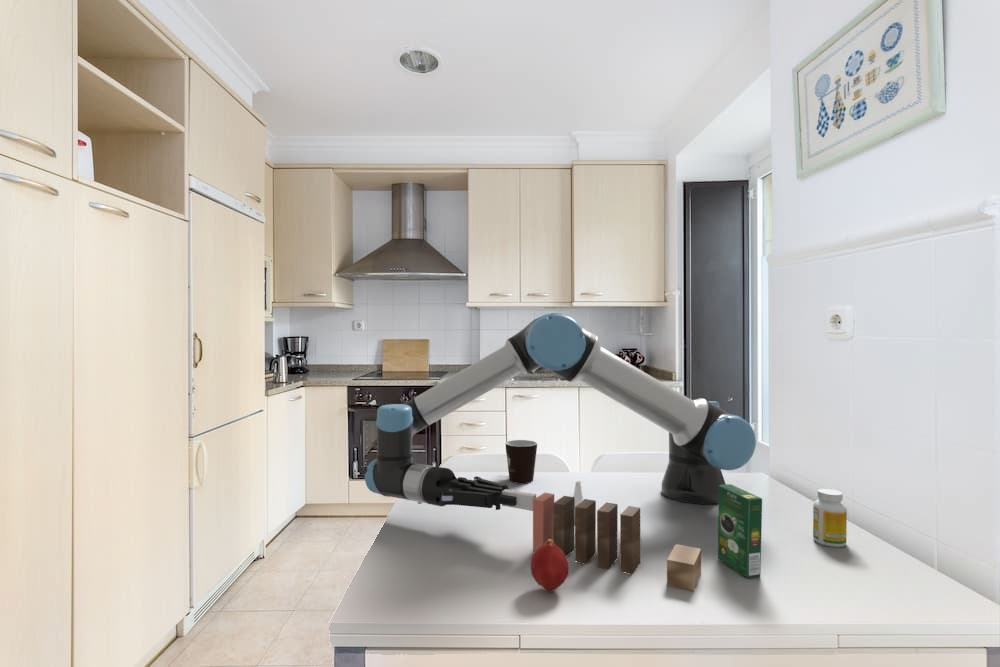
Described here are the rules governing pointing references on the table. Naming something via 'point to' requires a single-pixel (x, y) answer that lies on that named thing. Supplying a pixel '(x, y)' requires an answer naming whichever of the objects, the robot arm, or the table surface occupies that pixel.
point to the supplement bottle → (829, 518)
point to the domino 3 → (585, 530)
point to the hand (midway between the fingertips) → (534, 502)
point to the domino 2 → (564, 523)
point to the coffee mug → (521, 460)
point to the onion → (549, 566)
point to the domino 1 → (542, 519)
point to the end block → (684, 567)
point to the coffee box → (739, 530)
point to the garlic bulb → (578, 494)
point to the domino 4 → (607, 535)
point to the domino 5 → (629, 539)
